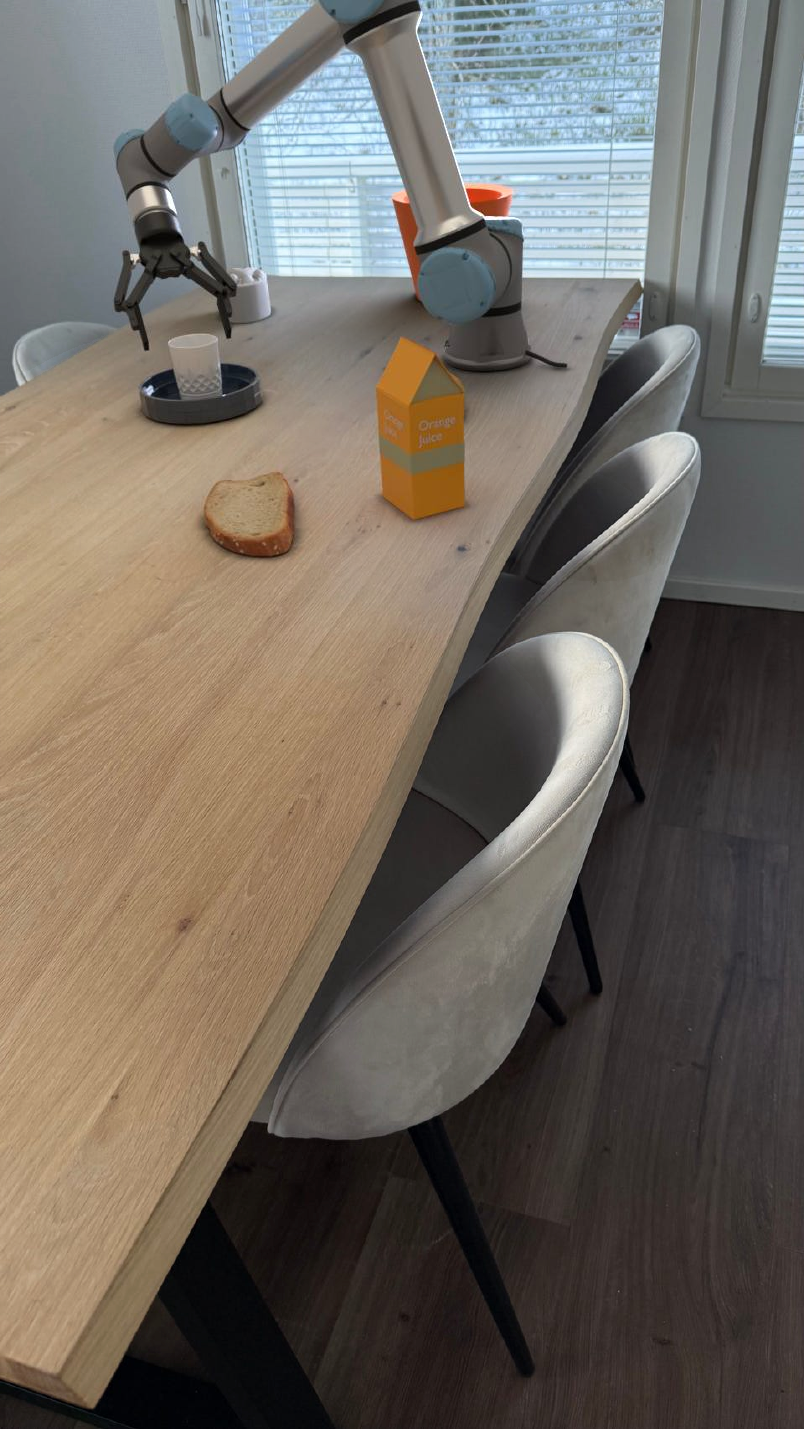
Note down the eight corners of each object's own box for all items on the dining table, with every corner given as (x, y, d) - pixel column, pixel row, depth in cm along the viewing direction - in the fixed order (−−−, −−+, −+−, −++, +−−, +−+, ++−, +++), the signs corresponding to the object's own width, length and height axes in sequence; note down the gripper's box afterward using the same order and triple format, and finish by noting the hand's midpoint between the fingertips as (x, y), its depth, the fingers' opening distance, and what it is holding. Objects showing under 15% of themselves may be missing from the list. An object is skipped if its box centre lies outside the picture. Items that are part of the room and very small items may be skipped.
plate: (286, 400, 165) (283, 376, 163) (191, 435, 154) (186, 409, 151) (213, 378, 176) (210, 355, 174) (120, 409, 165) (114, 385, 163)
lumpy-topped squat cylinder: (271, 305, 216) (266, 262, 211) (269, 321, 206) (263, 276, 200) (223, 308, 216) (217, 266, 211) (219, 325, 205) (212, 280, 200)
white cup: (181, 396, 168) (170, 335, 162) (228, 393, 168) (218, 332, 162) (176, 412, 161) (165, 349, 156) (225, 408, 162) (215, 345, 156)
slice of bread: (271, 563, 118) (267, 534, 115) (159, 533, 126) (153, 505, 124) (356, 505, 130) (354, 478, 127) (249, 481, 138) (245, 455, 136)
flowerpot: (516, 307, 205) (518, 201, 193) (395, 313, 206) (390, 207, 194) (507, 279, 225) (509, 180, 213) (397, 284, 226) (392, 187, 214)
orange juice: (412, 520, 125) (405, 358, 114) (381, 496, 132) (371, 341, 120) (466, 505, 128) (464, 346, 116) (433, 483, 134) (428, 329, 123)
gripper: (228, 230, 172) (260, 341, 169) (81, 248, 166) (112, 363, 163) (230, 201, 165) (264, 316, 162) (77, 218, 158) (109, 338, 156)
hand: (188, 340), depth 163 cm, fingers open, 13 cm apart
